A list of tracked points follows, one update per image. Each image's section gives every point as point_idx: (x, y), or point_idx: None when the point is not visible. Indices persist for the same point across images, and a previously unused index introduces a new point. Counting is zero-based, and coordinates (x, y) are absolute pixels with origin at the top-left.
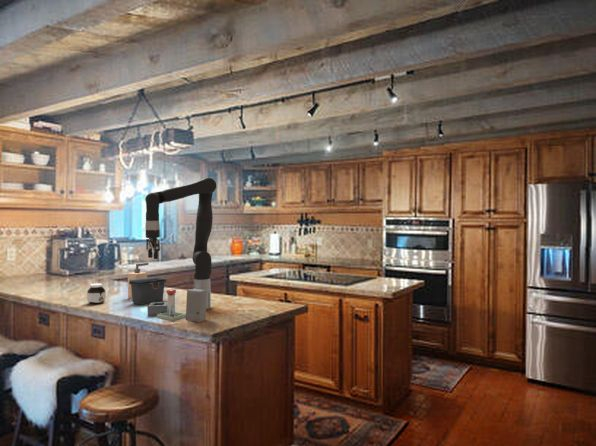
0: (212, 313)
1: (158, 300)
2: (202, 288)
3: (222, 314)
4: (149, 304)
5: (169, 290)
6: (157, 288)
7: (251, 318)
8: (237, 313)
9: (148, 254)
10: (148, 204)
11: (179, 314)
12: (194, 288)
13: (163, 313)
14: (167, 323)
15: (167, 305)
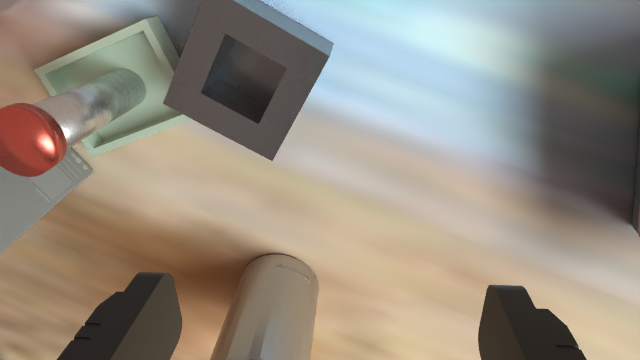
0: (155, 271)
1: (635, 201)
2: (210, 358)
3: (116, 290)
4: (267, 21)
5: (11, 130)
6: (638, 226)
7: (4, 327)
8: None
9: (523, 339)
10: None
11: (128, 134)
12: (260, 336)
13: (161, 63)
14: (38, 29)
15: (176, 110)
